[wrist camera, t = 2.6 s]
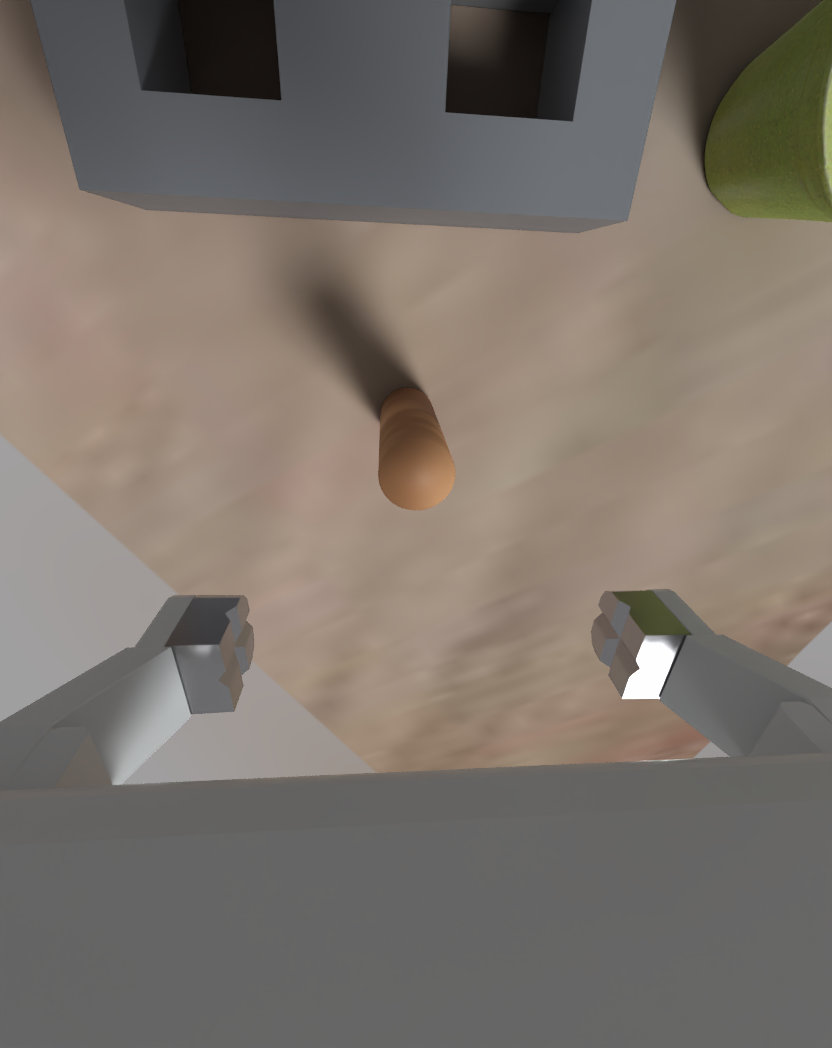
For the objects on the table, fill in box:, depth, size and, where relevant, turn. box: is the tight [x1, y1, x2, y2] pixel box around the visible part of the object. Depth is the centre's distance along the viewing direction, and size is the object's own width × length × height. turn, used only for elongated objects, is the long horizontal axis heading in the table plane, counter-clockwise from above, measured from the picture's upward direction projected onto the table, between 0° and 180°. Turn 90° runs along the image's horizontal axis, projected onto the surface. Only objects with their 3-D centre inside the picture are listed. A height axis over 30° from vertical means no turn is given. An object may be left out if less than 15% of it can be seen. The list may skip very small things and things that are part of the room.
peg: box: [378, 388, 455, 510], centre depth 21 cm, size 3×3×9 cm
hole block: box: [30, 0, 676, 233], centre depth 16 cm, size 20×10×5 cm, turn 88°
